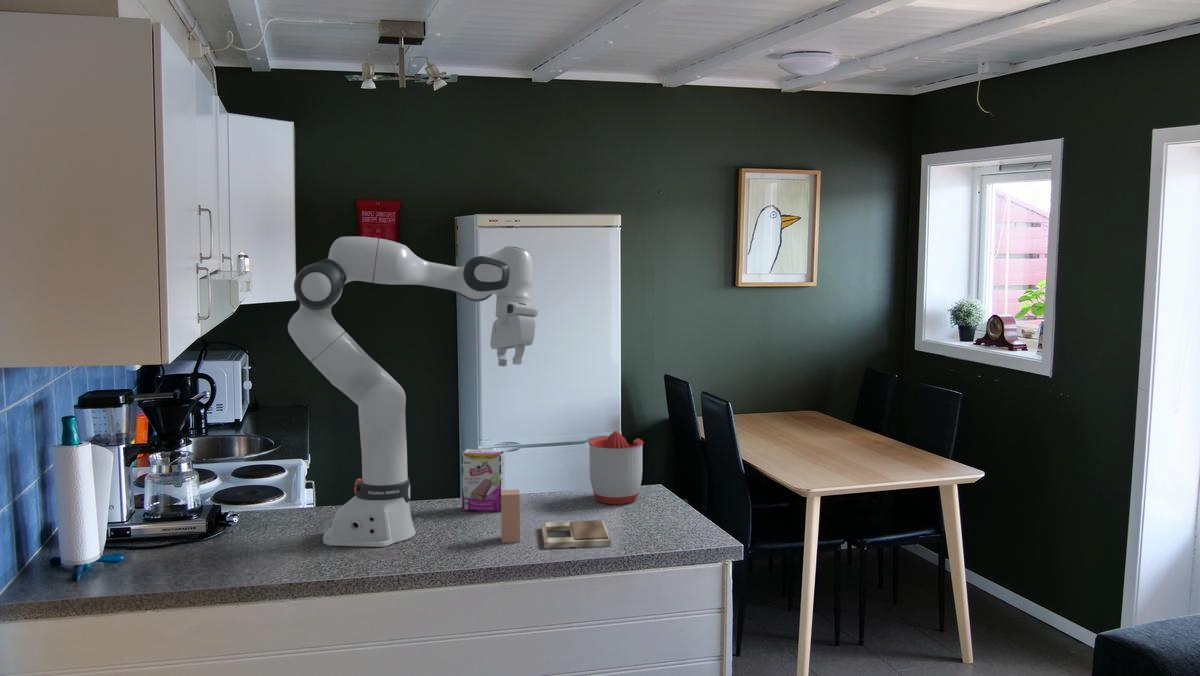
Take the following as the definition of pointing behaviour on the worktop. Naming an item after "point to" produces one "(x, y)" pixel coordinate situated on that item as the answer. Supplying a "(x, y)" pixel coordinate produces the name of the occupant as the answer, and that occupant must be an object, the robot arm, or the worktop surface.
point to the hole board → (575, 534)
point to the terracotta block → (510, 516)
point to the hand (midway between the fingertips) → (509, 365)
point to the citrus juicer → (615, 468)
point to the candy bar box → (482, 480)
